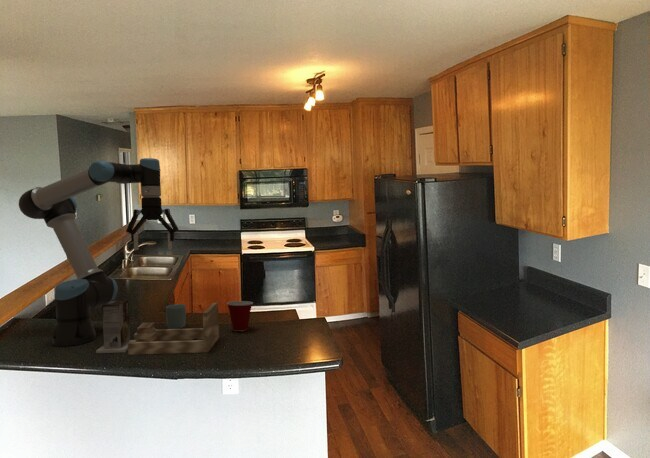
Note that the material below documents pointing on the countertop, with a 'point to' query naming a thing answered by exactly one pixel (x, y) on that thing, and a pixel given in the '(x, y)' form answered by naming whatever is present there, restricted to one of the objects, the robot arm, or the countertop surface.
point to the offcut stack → (146, 333)
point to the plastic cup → (239, 314)
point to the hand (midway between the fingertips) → (153, 249)
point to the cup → (176, 316)
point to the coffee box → (116, 324)
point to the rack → (182, 337)
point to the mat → (114, 349)
